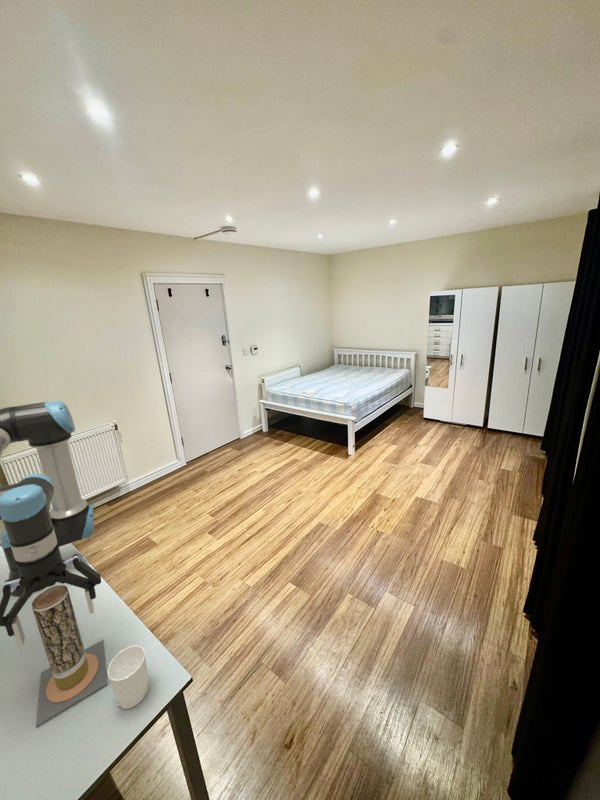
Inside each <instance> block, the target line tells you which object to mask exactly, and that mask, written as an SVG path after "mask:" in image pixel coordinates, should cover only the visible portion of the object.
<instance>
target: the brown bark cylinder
mask: <svg viewBox="0 0 600 800" xmlns="http://www.w3.org/2000/svg"><path fill="white" fill-rule="evenodd" d="M73 606H74V605H73V602H72V599H71V595H70V592H69V589H68V586H66V585H65V584H60V585H59V584H58V585H53V586H50V587H48V588H47V589H45V590H43V591H42V592H40V593H39V594H38V595H37V596H36V597H34V599H33V601H32V602H31V609H32V612H33V615H34V618H35V622H36V625H37V628H38V631H39V635H40V638H41V641H42V644H43V647H44V651H45V654H46V657H47V661H48V664H49V668H50V667H51V671H52V674H53V677H54V680H55V683H56V686H57V688H59V689H69V688H71V687H73V686H75V685H76V684H77V683H78V682H80V681H81V680H82V678H83V677H84V676H85V674H86V672H87V670H88V662H87V658H86V654H85V647H84V644H83V640H82V636H81V633H80V628H79V625H78V622H77V618H76V614H75V610H74V607H73Z"/></svg>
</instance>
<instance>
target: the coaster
mask: <svg viewBox="0 0 600 800" xmlns="http://www.w3.org/2000/svg"><path fill="white" fill-rule="evenodd" d="M84 650H85V654H86V658H87V662H88V670H87V672H86V674H85V676H84V677H83V678H82V680H81V681H80V682H78V683H77V684H76V685H75V686H73V687H71V688H69V689H59V688H57V686H56V683H55V680H54V677H53V674H52V671H51V667H50V666H49V667H48V668H46V669H45V670H43V671H41V672H40V678H39V679H40V680H39V690H38V699H37V708H36V711H37V712H36V721H35V728H39V727H40V726H43V725H45V723H47V722H49V721H50V720H52V719H55V717H57V716H60V714H62V713H65V712H66V711H68V710H69V709H71V708H72V707H74V706H76V705H77V704H79V703H80V702H82V701H83V700H86V699H87V698H89V697H91V696H92V695H94V694H96V693H98V692H99V691H101V690H102V689H104V688H106V687H107V686H108V685H109V680H108V669H107V663H106V661H107V660H106V653H105V644H104V639H102V640H100V641H98V642H96V643H94V644H92V645H91V646H88V647H87V648H84Z"/></svg>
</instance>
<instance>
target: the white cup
mask: <svg viewBox="0 0 600 800" xmlns="http://www.w3.org/2000/svg"><path fill="white" fill-rule="evenodd" d="M107 667H108V668H107V678H108V679H109V680H108V681H109V683H110V685H111V688H112V691H113V693H114V697H115V698H116V702H117V704H118V706H119V707H120V708H121V709H123V710H130V709H132V708H133V707H136V706H137V705H139V704H140V703H141V702H142V701H143V699H144V698H145V697H146V695H147V693H148V691H149V685H150V684H149V678H148V677H149V675H148V673H149V672H148V664H147V658H146V652H145V649H144V648H143V647H142V646H140V645H130V646H127V647H124V649H122V650H120V651H119V652H118V653H117V654H116V655H115V656H114V657H112V660H111V661H110V663H109V665H108V666H107Z"/></svg>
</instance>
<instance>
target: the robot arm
mask: <svg viewBox="0 0 600 800" xmlns="http://www.w3.org/2000/svg"><path fill="white" fill-rule="evenodd" d="M75 431H76V427H75V423H74V420H73V417H72V415H71V412H70V410H69V408H68V406H67V405H66V404H65V403H64V402H63V401H59V400H57V401H44V402H37V403H30V404H22V405H16V406H8V407H7V406H6V407H2V408H0V460H1V459H2V456H3V452H4V450H6V449H7V448H8V447H9V445H10V444H13V443H17V442H23V441H27V442H28V446H29V447H31V448H33V449H36V451H37V455H38V460H39V463H40V466H41V469H42V470H41V471H42V473H33V474H29V475H27V476H25V477H23V478H22V479H21V480H20V481H18V483H12V484H8V485H4V486H0V521H1V520H2V524H3V526H4V530H2V532H1V534H0V543H1V549H2V550H3V553H4V556H5V559H6V563H7V566H8V568H9V574H8V579H6V580H5V581H4V583H3V586H2V598H1V600H0V627H4V628H5V630H6V633H7V636H8V637H10V638H11V637H13V636H15V639H16V642H17V645H18V648H19V649H21V647H22V648H23V647H24V645H25V639H26V636H25V632H24V630H23V629H24V628H23V626H22V623H21V620H20V617H19V615H18V614H19V613H20V612H21V611H22V609H23V607H24V606H25V604H26V603H27V602H28V600H29V599H30V598H31V597H32V595H33V594H34V593H36V592H40V591H42V590H43V591H44V589H45V590H46V588H51V587H54V586H56V584H57V583H59V584H61V585H65V584H66V585H67V584H68V585H71V586H74V587H78V588H81V589H83V590H84V596H85V598H86V599H85V600H86V603H87V607H88V611H89V614H90V615H91V614H94V611H95V610H94V604H93V600H94V599H96V598H97V594H96V588H95V586H98V585H101V583H102V579H101V578H102V575H101V574H100V573H99V572H98V571H96V570H95V569H93V568H92V567H91V566H89V565H88V564H87V563H85V562H84V561H83V560H81V558H80V555H79V553H74V554H73V555H72V557H71V558H68V559H67V560H64V559H63V558H62V557H63V556H62V553H61V549H60V547H63V546H65V545H69V544H72V543H75V542H78V541H82V540H83V539H84V540H85V539H87V538H89V537H91V536H92V535H93V534H94V532H95V519H94V517H95V515H94V505H93V504H91V503H90V504H89V503H88V501H87V500H86V499H84V498H82V497H81V491H80V489H79V483H78V479H77V475H76V472H75V468H74V463H73V461H72V460H73V459H72V456H71V452H70V447H69V443H68V442H69V441H70V439H71V438H72V433H74V432H75ZM50 507H52V509H51V510H50ZM67 567H70V568H72V569H75V570H76V571H77V572H78V573H80V574H82V575H83V576H81V575H78V574H76V573H73V572H70V571H69V570H67V569H66V568H67ZM11 596H13V597H18V598H17V600H16V601H15V603H14V604H13V606H12V607H11V608H10V610H9V611H8V612H7V613H5V612H6V610H7V608H8V604H9V602H10V599H11ZM5 614H6V615H5Z"/></svg>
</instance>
